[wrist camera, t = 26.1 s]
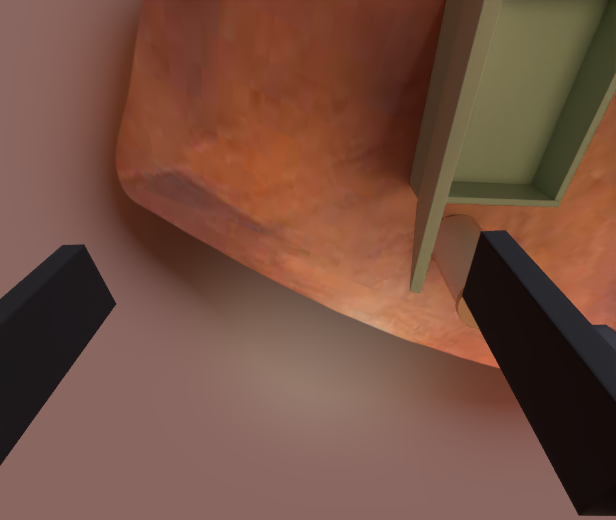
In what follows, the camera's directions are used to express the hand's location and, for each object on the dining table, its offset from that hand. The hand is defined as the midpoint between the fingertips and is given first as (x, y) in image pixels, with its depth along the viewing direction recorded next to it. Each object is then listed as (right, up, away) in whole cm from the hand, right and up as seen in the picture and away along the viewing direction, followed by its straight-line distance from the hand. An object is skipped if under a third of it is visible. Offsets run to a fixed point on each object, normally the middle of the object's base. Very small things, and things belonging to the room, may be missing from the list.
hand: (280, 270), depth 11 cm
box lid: (+12, +10, +13) cm, 21 cm away
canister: (+22, +3, +35) cm, 41 cm away
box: (+22, +18, +25) cm, 38 cm away
